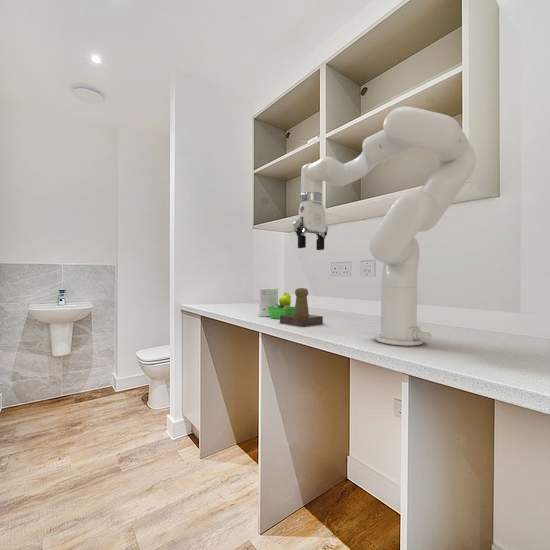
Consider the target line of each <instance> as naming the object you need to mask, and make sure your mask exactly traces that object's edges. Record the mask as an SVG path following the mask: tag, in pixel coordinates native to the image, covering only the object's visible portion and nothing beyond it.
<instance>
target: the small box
mask: <svg viewBox="0 0 550 550" xmlns="http://www.w3.org/2000/svg"><path fill="white" fill-rule="evenodd" d="M276 304H278V305H279V288H277V287H259V316H260V317H271V316H270V312H269V309H268V307H269V306H274V305H276Z"/></svg>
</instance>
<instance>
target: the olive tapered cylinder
mask: <svg viewBox="0 0 550 550" xmlns="http://www.w3.org/2000/svg"><path fill="white" fill-rule="evenodd" d="M294 295H295V303H294V307H295V310H294V316H297V317H308V316H309V315H310V313H309V304H308V295H309V290H308V288H305V287H298V288H296V289H295V291H294Z"/></svg>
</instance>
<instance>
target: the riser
mask: <svg viewBox="0 0 550 550" xmlns="http://www.w3.org/2000/svg"><path fill="white" fill-rule="evenodd" d="M279 324H283V325H290V326H293V327H294V326H296V327H301V328H303V327H309V326H310V327H311V326H318V325H323V324H324V316H323V315H316V314H309V316H308V317H297V316H294V314H291V315H280V319H279Z"/></svg>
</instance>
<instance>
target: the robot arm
mask: <svg viewBox="0 0 550 550" xmlns="http://www.w3.org/2000/svg"><path fill="white" fill-rule="evenodd" d="M382 128H383V129H381V130H379V131H377V132H376V133H373V134H371V135H370V136H368V137H366V138H364V140H363V141H362V147H361V148H362V151H361V153H360V154H359V155H358V156H357V157H355V158H354V159H352V160H350V161H348V162H345V163H342V162H340V161H339V160H337V159H335V157H332V156H323V157H321V158H319V159H318V160H315V161H314V162H310V163H305V164H304V165H302V166H301V169H300V195H299V198H300V203H299V208H298V215H297V216H298V217H297V219H296V220H295V221H293V222H292V225H293V228H294V229H293V230H294V232H295V234H296V237H297V248H298V249H305V248H307V235H306V233H308V234H315V236H316V240H315V241H316V243H315V244H316V246H315V247H316V251H324V250H325V239H326V238H327V235H328V231H329V227H328V226H327V225H326V224H327V223H326V221H327V220H326V211H325V205H324V204H323V183H324V182H325V183H328V184H331V185H333V186H335V187H343V186H346V185H349V184H352V183H354V182H357V181H358V180H360V179H362V178H364V177H365V176H367V175H368V173H370V172H371V171H372V169H373V168H374V167H375V166H377V165H379V164H381V163H383V162H386V161H388V160H391V159H393V158H395V157H397V156H399V155H402V154H405V153H406V152H409V151H411V150H413V149H416V148H420V149H422V150H424V151H426V152H427V153H428V155H430V156H431V157H432V158H433V159H434V160H435V161H436V163H438V166H437V168H436V170H434V171H433V172H432V173H431V174H430V175H429V177H428V178H427V180H426V181H425V183H424V184H423V186H422V187H421V189H420V190H419V189H413V190H408V191H406V192H404V193H402V194H401V195H399V197H398V198H397V199H396V200H395V201H394V202H393V203H392V205H391V206H390V208H389V209H388V211H387V212H386V214H385V215H384V217H383V218H382V220H381V222H380V223H379V224H378V226H377V227H376V229H375V230H374V232H373V234H372V236H371V239H370V240H369V251H370V254H371V256H372V257H373V259H375V260H376V261H378V262H381V263H383V266H382V271H381V285H380V287H381V288H380V289H381V291H380V294H381V295H380V297H381V298H380V299H381V300H380V305H381V306H380V313H381V314H380V333H379V334H376V335H375V341H377V342H379V343H382V344H386V345H394V346H407V347H409V346H411V347H412V346H420V345H422V344H423V343H424V341H425V340H426V341H431V340H432V338H433V337H432V333H431V332H428V331H422V330H421V326H418V271H419V261H420V245H419V242H418V240H417V239H416V235H417V234H418V233H420V232H421V233H423V232H427V231H430V230H433V228H434V227H436V225H437V224H438V223H439V221H440V220H441V218H442V217H443V216H444V214H445V213H446V212H447V210H448V209H449V207H450V206H451V204H452V203H453V202H454V200H455V199H456V197H457V196H458V194H459V193H460V192H461V190H462V189H463V188H464V186H465V185H466V184H467V182H468V181H469V180H470V178H471V176H472V174H473V172H474V170H475V166H476V158H477V157H476V153H475V150H474V148H473V145H472V144H471V143H470V141H469V139H468V138H467V136H466V133H465V132H464V131H463V129H462V127H461V125H460V124H459V122H458V121H457V120H456V119H455V118H453V117H452V116H451V115H447V114H444V113H441V112H435V111H431V110H427V109H423V108H419V107H414V106H408V105H407V106H405V105H403V106H399V107H395V108H394V109H392V110H391V111H390V112H389V113H388V114H387V115H386V116H385V118H384V121H383V124H382Z"/></svg>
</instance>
